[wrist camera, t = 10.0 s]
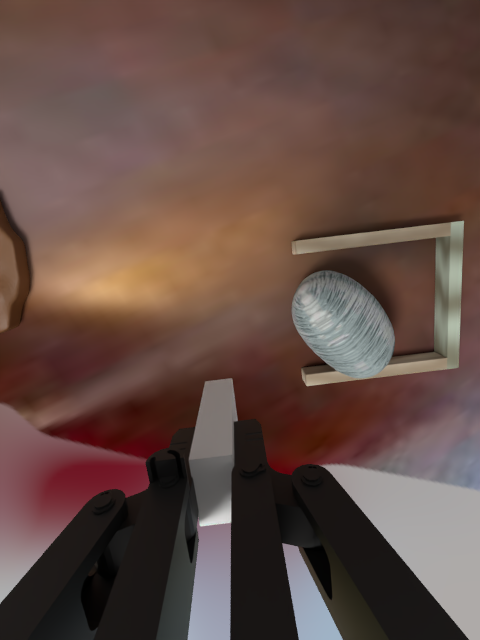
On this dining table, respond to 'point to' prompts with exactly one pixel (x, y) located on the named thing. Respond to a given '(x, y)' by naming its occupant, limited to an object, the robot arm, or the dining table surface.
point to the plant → (12, 275)
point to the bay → (445, 297)
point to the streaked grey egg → (343, 324)
